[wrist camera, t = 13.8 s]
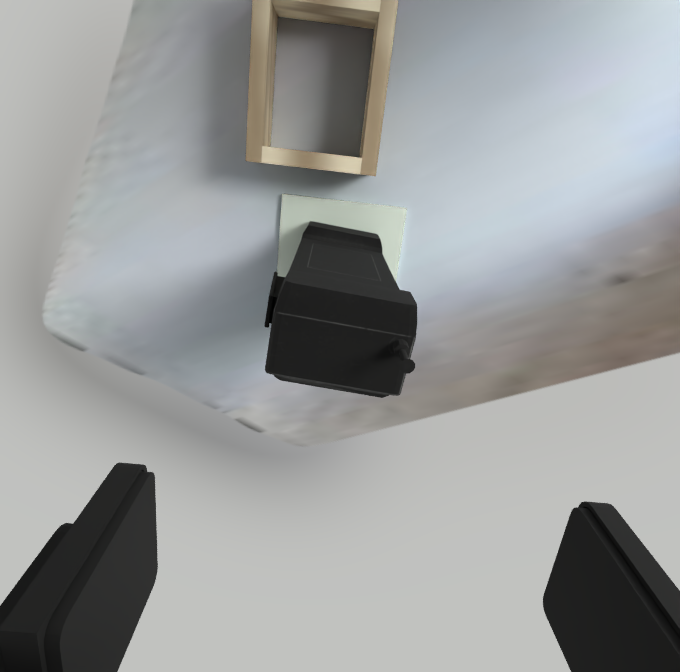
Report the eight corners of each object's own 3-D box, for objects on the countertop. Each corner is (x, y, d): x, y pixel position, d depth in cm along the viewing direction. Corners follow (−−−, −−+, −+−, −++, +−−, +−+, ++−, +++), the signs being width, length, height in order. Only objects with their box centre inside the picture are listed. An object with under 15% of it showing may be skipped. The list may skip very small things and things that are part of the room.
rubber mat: (406, 207, 44) (407, 208, 43) (388, 324, 47) (388, 325, 47) (282, 193, 43) (282, 194, 43) (274, 312, 47) (273, 314, 47)
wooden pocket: (391, 13, 39) (399, -6, 34) (371, 173, 43) (375, 176, 38) (263, -4, 38) (253, -26, 33) (255, 160, 42) (245, 161, 38)
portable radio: (284, 282, 46) (230, 419, 22) (294, 217, 44) (248, 290, 20) (367, 298, 46) (401, 446, 23) (381, 234, 44) (435, 325, 21)
